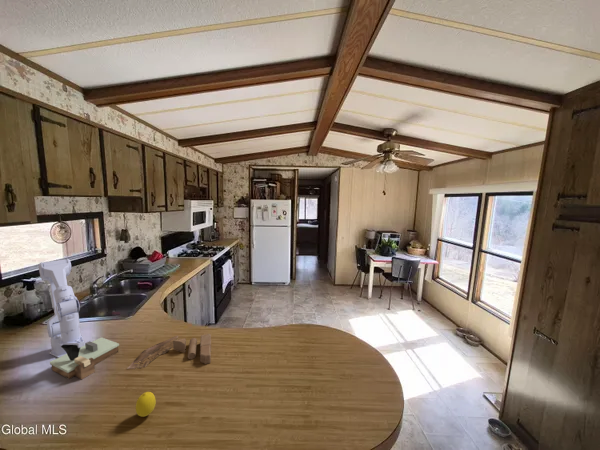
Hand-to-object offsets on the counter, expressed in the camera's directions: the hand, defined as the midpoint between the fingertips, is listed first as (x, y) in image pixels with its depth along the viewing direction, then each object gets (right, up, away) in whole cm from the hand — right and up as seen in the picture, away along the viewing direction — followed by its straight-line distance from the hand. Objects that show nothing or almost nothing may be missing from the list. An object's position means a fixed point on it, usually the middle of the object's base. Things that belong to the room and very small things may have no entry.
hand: (74, 358), depth 97 cm
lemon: (+44, -7, -20) cm, 49 cm away
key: (+6, -1, -2) cm, 6 cm away
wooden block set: (+45, -4, +9) cm, 47 cm away
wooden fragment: (+27, -4, +12) cm, 30 cm away
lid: (0, -1, +6) cm, 6 cm away
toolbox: (+2, -4, +5) cm, 7 cm away
